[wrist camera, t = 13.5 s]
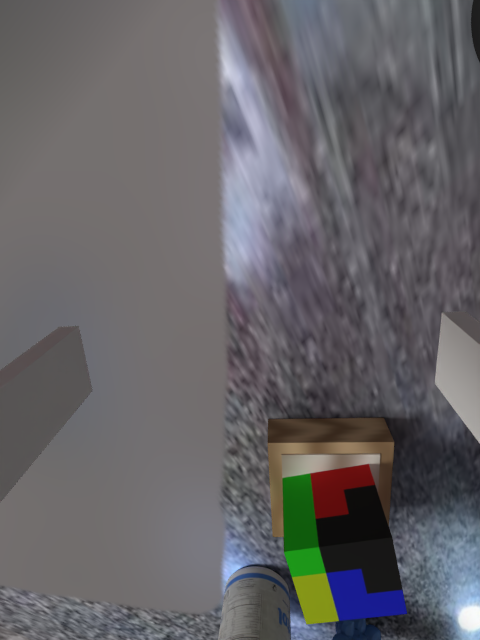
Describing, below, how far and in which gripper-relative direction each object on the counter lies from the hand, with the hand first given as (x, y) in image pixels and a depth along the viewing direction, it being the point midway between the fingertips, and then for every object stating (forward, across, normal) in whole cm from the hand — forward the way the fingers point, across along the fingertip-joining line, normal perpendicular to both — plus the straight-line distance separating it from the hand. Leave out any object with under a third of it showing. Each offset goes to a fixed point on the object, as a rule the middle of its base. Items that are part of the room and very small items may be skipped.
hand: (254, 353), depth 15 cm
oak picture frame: (+31, +6, -30) cm, 43 cm away
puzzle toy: (+26, +6, -32) cm, 41 cm away
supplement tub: (+31, -4, -52) cm, 61 cm away
